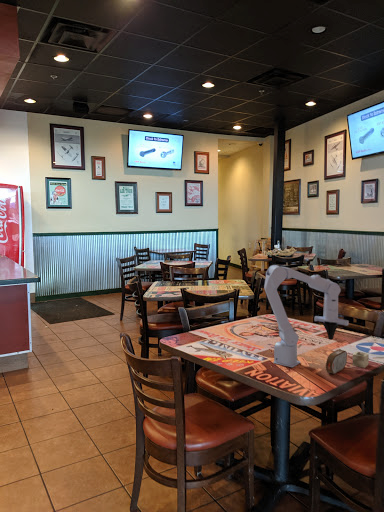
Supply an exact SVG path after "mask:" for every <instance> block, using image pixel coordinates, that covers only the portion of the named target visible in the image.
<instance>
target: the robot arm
mask: <svg viewBox="0 0 384 512" xmlns="http://www.w3.org/2000/svg"><path fill="white" fill-rule="evenodd" d="M292 278H293V279H296V280H298V281H301V282H303V283H306V284H308V287H309V288H311V289H314V290H316V291H319V292H322V293H324V304H323V305H324V310H323V312H324V313H323V314H324V315H323V316H319V315H315V316H314V321H313V322H321V323H323V327H324V328H325V331H326V334H327V336H328V337H327V338H328V340H334V338H335V337H334V336H335V333H336V330H337V328H338V327H339V325H342V326H345V327H346V326H349V325H350V324H349V322H350V321H349V320H347V319H343V318H339V295H340V293H341V291H342V289H341V287H340V285H339V284H338V283H336V282H333V281H331V280H330V279H329V278H323V277H321V275H319V274H313V275H311V276H310V275H307V274H306V273H302V272H299V271H298V270H296V269H293V268H290V267H286V266H281V265H278V264H272V265H270V266H269V267H268V268H267V270H266V272H265V279H264V285H263V286H264V287H263V289H264V291H265V294H266V297H267V299H268V302H269V304H270V307H271V310H272V311H273V315H274V317H275V320H276V322H277V328H278V335H279V338H280V341H277V342H276V343H274V344H275V345H274V347H273V357H274V358H273V364H277V365H281V366H283V367H289V368H294V367H296V366H298V365H299V364H301V360H298V342H299V334H298V333H297V332H296V331H295V330H294V328H293V327H292V324H291V323H290V321H289V318H288V314H287V312H286V309H285V308H284V304H283V302H282V300H281V297H280V295H279V293H278V288H279V286H280V285H281V283H283V282H284V281H285V280H286V279H287V280H289V279H292Z"/></svg>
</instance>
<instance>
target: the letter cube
mask: <svg viewBox="0 0 384 512" xmlns="http://www.w3.org/2000/svg"><path fill="white" fill-rule="evenodd" d="M369 356H370V354H369V353H366V352H361V351H355V352H354V353H353V354H352V366H354V367H359V368H363V369H365V368H366V367H368V365H369Z"/></svg>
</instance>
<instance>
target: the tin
mask: <svg viewBox="0 0 384 512" xmlns="http://www.w3.org/2000/svg"><path fill="white" fill-rule="evenodd" d="M347 360H348V352H347V351H346V350H344V349H341V348H338V349H336V350H334V351H332V352H331V353H329V355H328V356H327V359H326V362H325V370H326V372H327V373H328V374H331V375H336V374H338V373H339V372H341V371H343V370H344V369H345V368H346V365H347V362H348V361H347Z"/></svg>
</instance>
